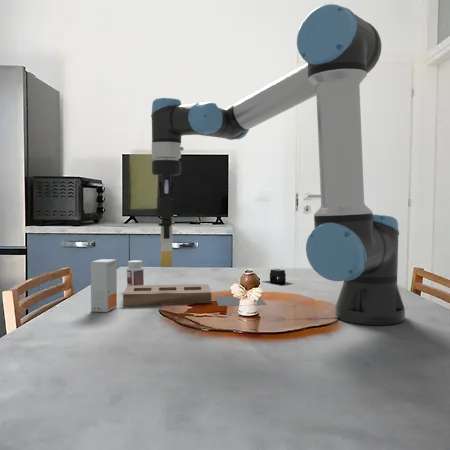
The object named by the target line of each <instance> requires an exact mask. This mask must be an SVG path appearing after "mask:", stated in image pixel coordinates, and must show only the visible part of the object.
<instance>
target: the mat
mask: <svg viewBox="0 0 450 450" xmlns="http://www.w3.org/2000/svg"><path fill="white" fill-rule="evenodd" d="M233 296H234V295H219V296H218V295H217V296H216V295H215V296H214V299H215V301H216V304H217V305H218V307H228V306H229V307H231V306H232V307H235V306H238V307H239V299H237V298H235V297H233ZM256 306H267V303H266V301H264V300H263V298H262V297H261V298H260V299H259V300H258V301H257V305H256Z"/></svg>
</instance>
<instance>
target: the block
mask: <svg viewBox="0 0 450 450" xmlns="http://www.w3.org/2000/svg"><path fill="white" fill-rule="evenodd" d="M170 303H177V304H212V291H211V288H210V285H209V284H208V283H201V284H198V283H197V284H195V283H193V284H191V283H190V284H151V285H150V284H146V285H145V284H144V285H135V286H127V285H126V287H125V290H124V291H123V293H122V304H123V305H122V306H123V307H134V306H135V307H139V306H141V307H142V306H149V307H150V306H162V305H168V304H170ZM170 305H171V304H170Z"/></svg>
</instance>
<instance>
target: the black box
mask: <svg viewBox="0 0 450 450" xmlns="http://www.w3.org/2000/svg"><path fill="white" fill-rule="evenodd" d="M286 275H287V274H286V270H285V269H279V268H275V269H270V272H269V280H263V281H261V282H262V283H265V284H266V283H267V284H269V285H270V284H271V285H276V286H279V287H280V286H281V287H282V286H283V287H284V286H289V285H290V286H291V285H293V283H292V282H286V279H287V278H286Z"/></svg>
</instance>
